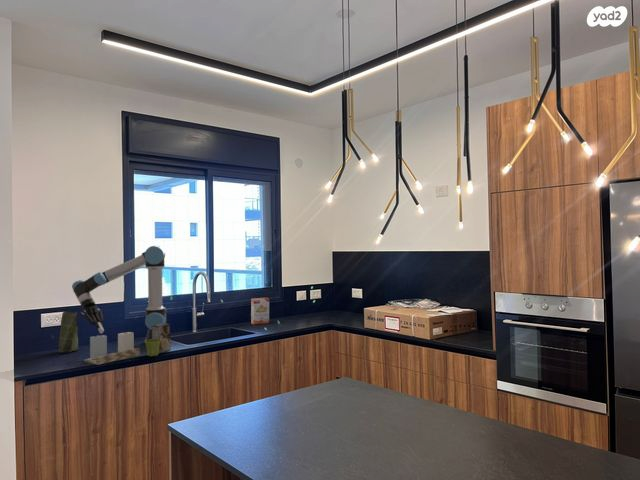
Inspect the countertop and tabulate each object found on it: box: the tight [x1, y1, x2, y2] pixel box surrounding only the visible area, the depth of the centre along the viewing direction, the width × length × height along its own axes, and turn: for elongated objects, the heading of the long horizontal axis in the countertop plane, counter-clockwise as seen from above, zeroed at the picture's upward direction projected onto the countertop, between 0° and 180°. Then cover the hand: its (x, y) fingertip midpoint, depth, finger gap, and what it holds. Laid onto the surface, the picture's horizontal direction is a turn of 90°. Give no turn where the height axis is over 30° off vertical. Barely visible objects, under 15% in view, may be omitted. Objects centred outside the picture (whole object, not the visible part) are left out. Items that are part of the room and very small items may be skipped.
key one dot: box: [117, 331, 135, 352], centre depth 274 cm, size 7×5×12 cm
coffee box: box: [152, 323, 172, 354], centre depth 287 cm, size 9×6×16 cm
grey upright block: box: [89, 334, 108, 359], centre depth 265 cm, size 7×5×12 cm
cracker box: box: [250, 297, 270, 325], centre depth 383 cm, size 14×6×21 cm, turn 119°
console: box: [83, 347, 141, 366], centre depth 269 cm, size 26×14×4 cm, turn 147°
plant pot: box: [144, 339, 161, 357], centre depth 276 cm, size 9×9×9 cm
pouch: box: [57, 310, 79, 354], centre depth 287 cm, size 11×12×25 cm
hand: (102, 331), depth 278 cm, fingers closed
